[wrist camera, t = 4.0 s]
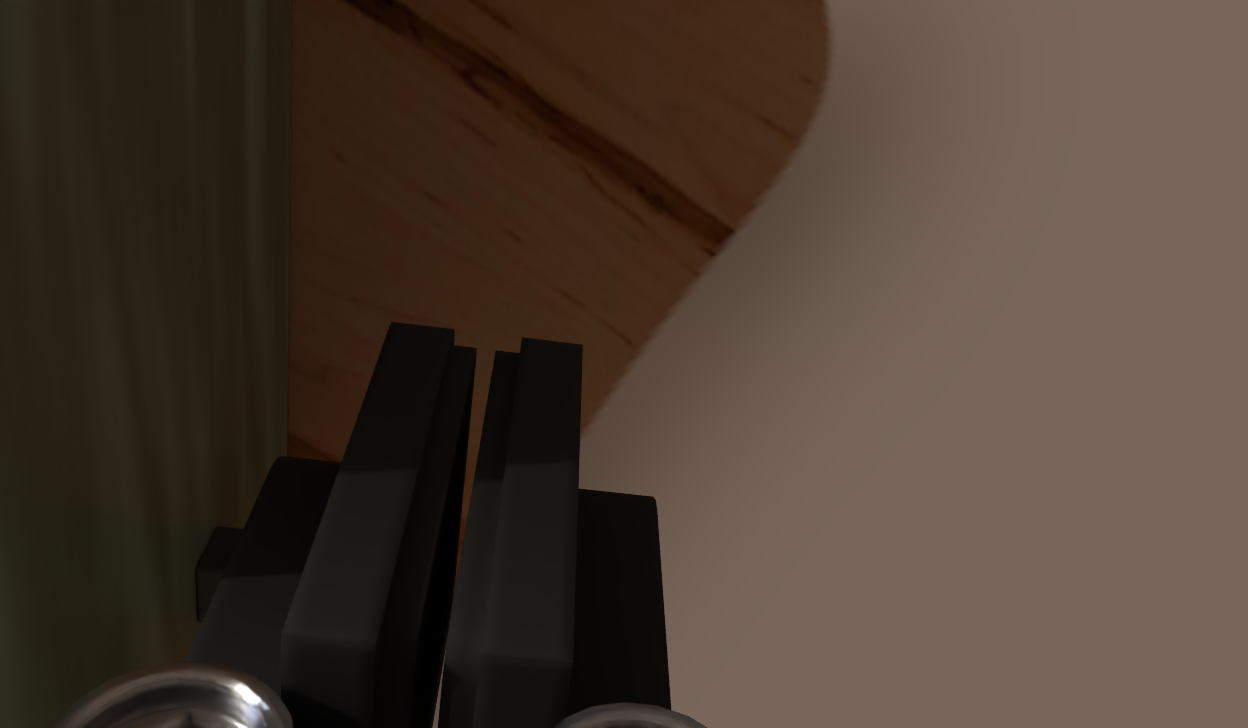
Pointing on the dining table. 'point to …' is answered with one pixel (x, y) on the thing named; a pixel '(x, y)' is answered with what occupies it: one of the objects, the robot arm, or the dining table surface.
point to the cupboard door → (134, 325)
